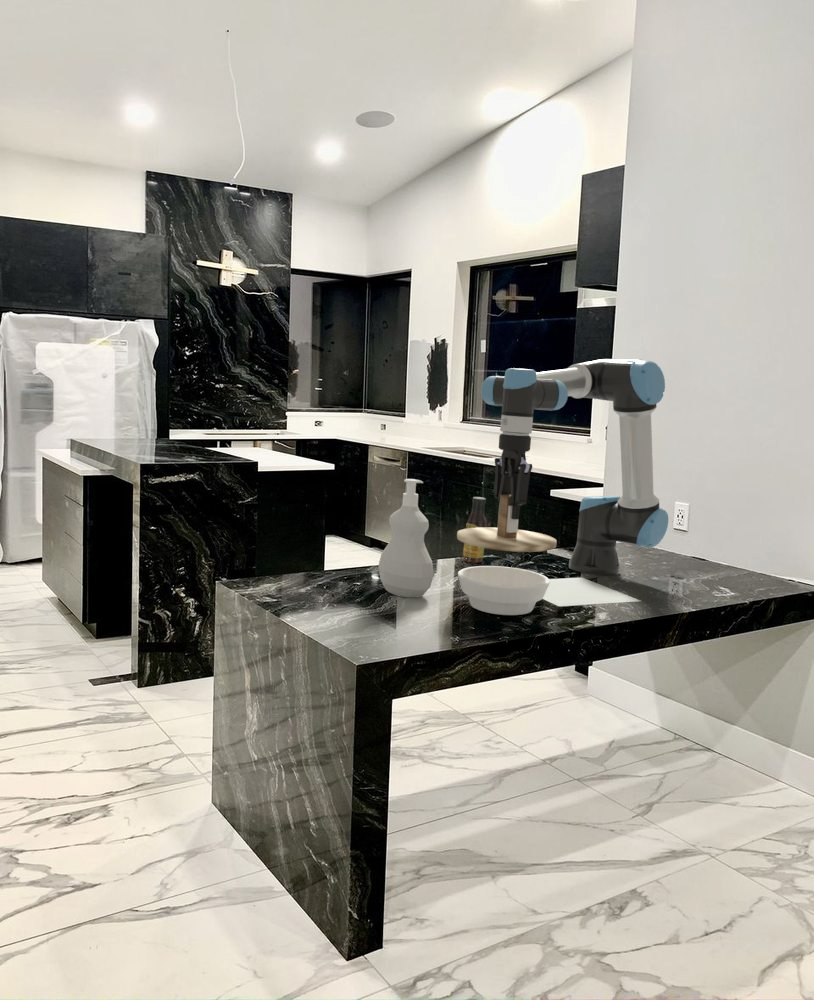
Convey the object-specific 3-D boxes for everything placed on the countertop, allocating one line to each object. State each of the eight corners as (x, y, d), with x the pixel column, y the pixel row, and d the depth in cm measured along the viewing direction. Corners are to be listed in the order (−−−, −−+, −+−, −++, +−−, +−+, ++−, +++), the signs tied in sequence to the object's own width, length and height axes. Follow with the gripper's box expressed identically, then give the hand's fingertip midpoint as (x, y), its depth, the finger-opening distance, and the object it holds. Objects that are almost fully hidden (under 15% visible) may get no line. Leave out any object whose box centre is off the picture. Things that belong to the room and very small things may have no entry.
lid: (521, 531, 225) (525, 488, 223) (576, 550, 203) (580, 503, 202) (439, 532, 215) (443, 488, 213) (488, 553, 193) (492, 503, 192)
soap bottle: (443, 598, 218) (451, 483, 213) (408, 604, 210) (417, 485, 206) (399, 583, 230) (406, 474, 226) (365, 588, 222) (372, 476, 218)
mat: (581, 579, 250) (581, 577, 249) (641, 603, 226) (641, 600, 226) (504, 583, 239) (504, 581, 238) (558, 608, 215) (559, 606, 215)
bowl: (484, 592, 227) (487, 561, 226) (562, 610, 214) (565, 577, 213) (437, 608, 209) (440, 574, 208) (520, 628, 196) (523, 592, 195)
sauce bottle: (458, 560, 265) (463, 496, 262) (471, 558, 269) (475, 495, 266) (475, 564, 260) (480, 499, 257) (487, 562, 265) (492, 498, 262)
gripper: (484, 430, 211) (477, 524, 215) (520, 436, 196) (512, 537, 200) (510, 431, 214) (503, 524, 218) (548, 437, 200) (539, 536, 203)
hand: (507, 530), depth 209 cm, fingers closed on lid, 3 cm apart
